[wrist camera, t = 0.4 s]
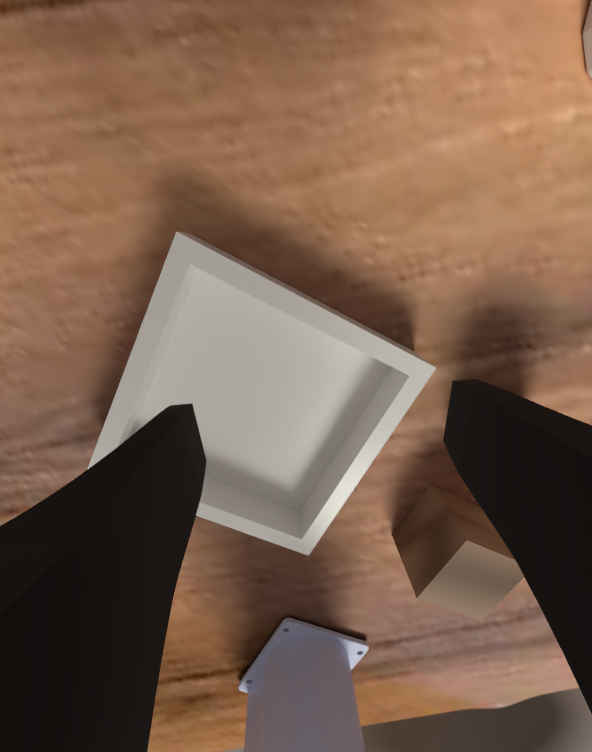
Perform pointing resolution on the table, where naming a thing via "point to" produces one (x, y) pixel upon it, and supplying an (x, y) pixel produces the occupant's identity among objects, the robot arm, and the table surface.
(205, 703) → the table surface
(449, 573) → the walnut cube
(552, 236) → the table surface
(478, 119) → the table surface
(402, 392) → the off-white tray
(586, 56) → the white cup
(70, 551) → the robot arm
